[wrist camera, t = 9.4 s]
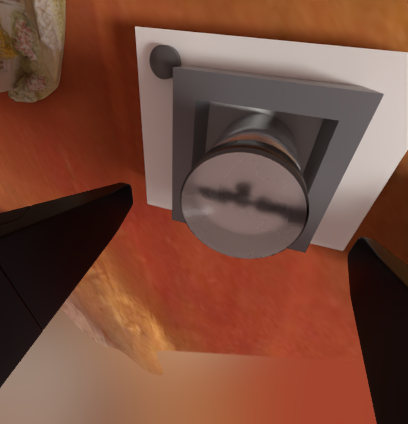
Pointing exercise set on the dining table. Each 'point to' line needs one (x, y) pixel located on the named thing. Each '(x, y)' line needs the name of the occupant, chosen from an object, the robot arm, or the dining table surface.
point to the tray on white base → (280, 108)
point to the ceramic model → (31, 47)
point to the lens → (247, 190)
